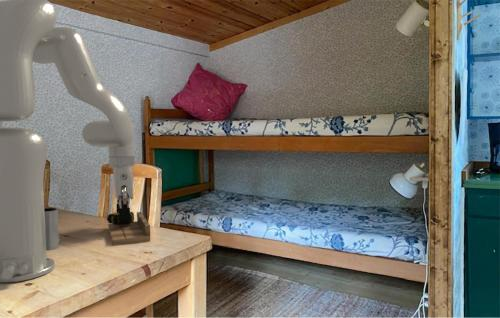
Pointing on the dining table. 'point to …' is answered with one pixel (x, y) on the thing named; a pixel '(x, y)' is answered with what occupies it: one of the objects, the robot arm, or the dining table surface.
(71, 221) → the dining table surface
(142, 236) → the brown wooden tray
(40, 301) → the dining table surface
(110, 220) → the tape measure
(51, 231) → the planter
